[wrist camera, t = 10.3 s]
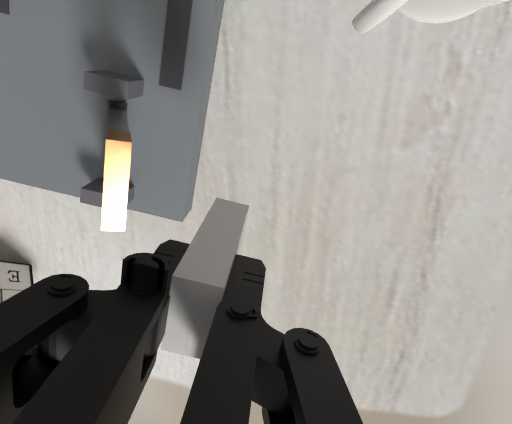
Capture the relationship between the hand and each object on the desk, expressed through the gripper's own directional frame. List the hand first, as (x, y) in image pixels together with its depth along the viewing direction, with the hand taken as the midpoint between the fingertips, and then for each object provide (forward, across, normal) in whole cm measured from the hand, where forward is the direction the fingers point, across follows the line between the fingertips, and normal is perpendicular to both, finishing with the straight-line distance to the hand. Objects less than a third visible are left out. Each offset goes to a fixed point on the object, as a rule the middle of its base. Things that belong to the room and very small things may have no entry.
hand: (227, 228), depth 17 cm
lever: (+8, -9, 0) cm, 12 cm away
